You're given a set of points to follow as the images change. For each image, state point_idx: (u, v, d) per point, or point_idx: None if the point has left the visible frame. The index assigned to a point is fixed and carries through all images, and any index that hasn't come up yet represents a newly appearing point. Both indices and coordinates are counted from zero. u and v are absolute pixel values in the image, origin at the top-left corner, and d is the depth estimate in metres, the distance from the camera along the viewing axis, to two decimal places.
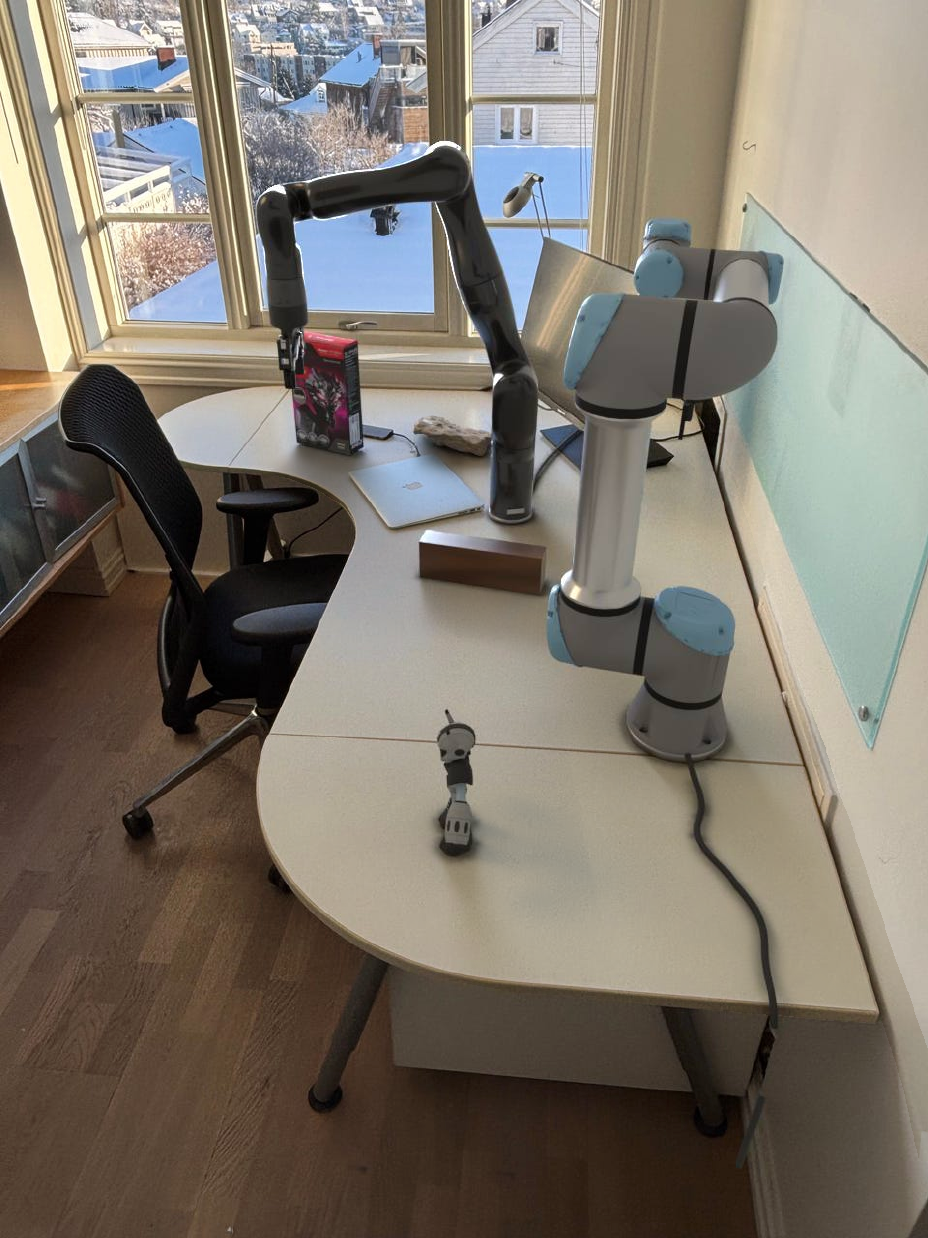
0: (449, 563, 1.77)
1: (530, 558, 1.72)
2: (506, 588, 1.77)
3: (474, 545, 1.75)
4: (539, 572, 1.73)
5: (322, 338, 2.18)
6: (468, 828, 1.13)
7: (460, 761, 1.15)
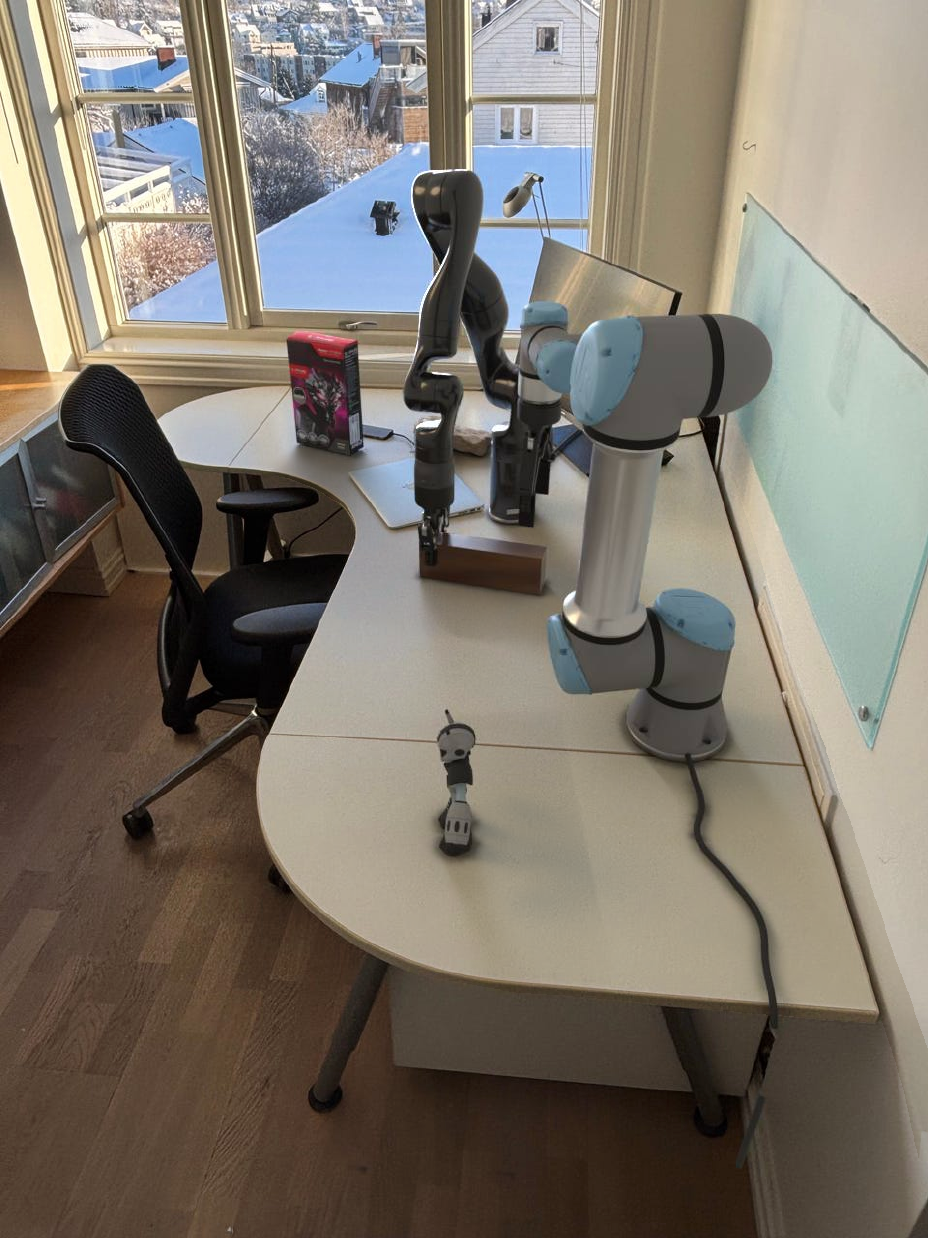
0: (449, 563, 1.77)
1: (530, 558, 1.72)
2: (506, 588, 1.77)
3: (474, 545, 1.75)
4: (539, 572, 1.73)
5: (322, 338, 2.18)
6: (468, 828, 1.13)
7: (460, 761, 1.15)
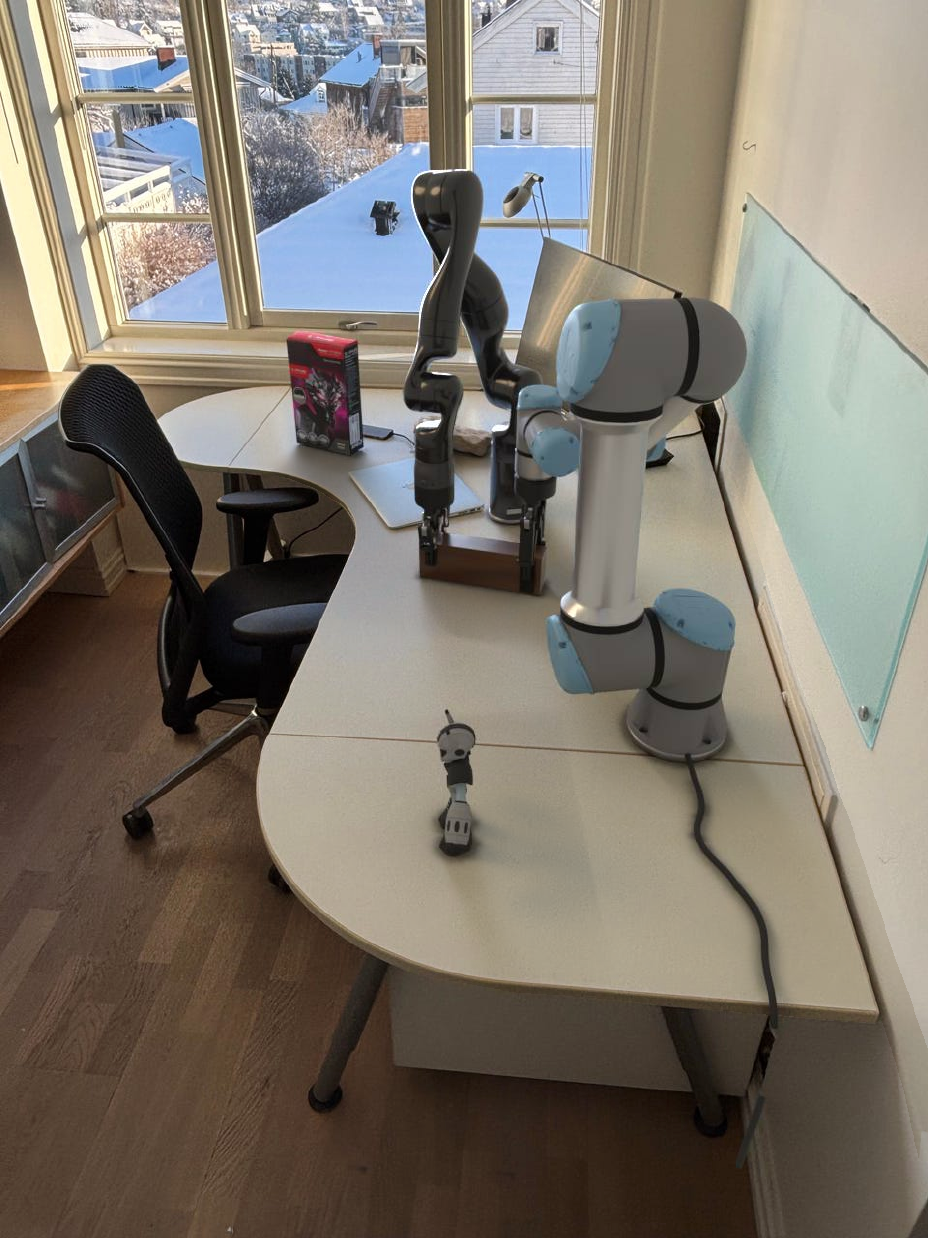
0: (449, 563, 1.77)
1: None
2: (506, 588, 1.77)
3: (474, 546, 1.75)
4: (539, 572, 1.73)
5: (322, 338, 2.18)
6: (468, 828, 1.13)
7: (460, 761, 1.15)
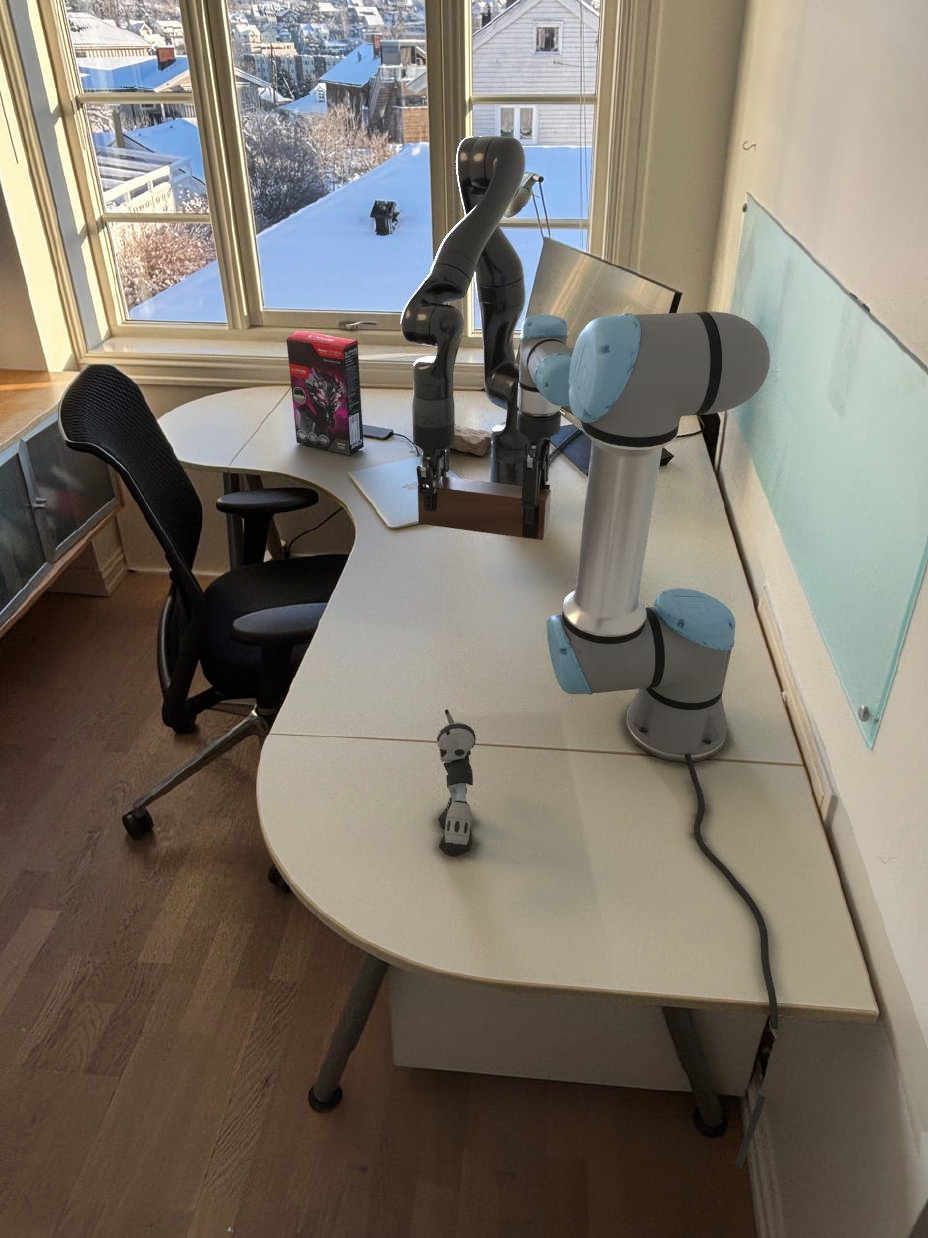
0: (449, 508, 1.70)
1: None
2: (508, 533, 1.70)
3: (475, 489, 1.68)
4: (543, 515, 1.66)
5: (322, 338, 2.18)
6: (468, 828, 1.13)
7: (460, 761, 1.15)
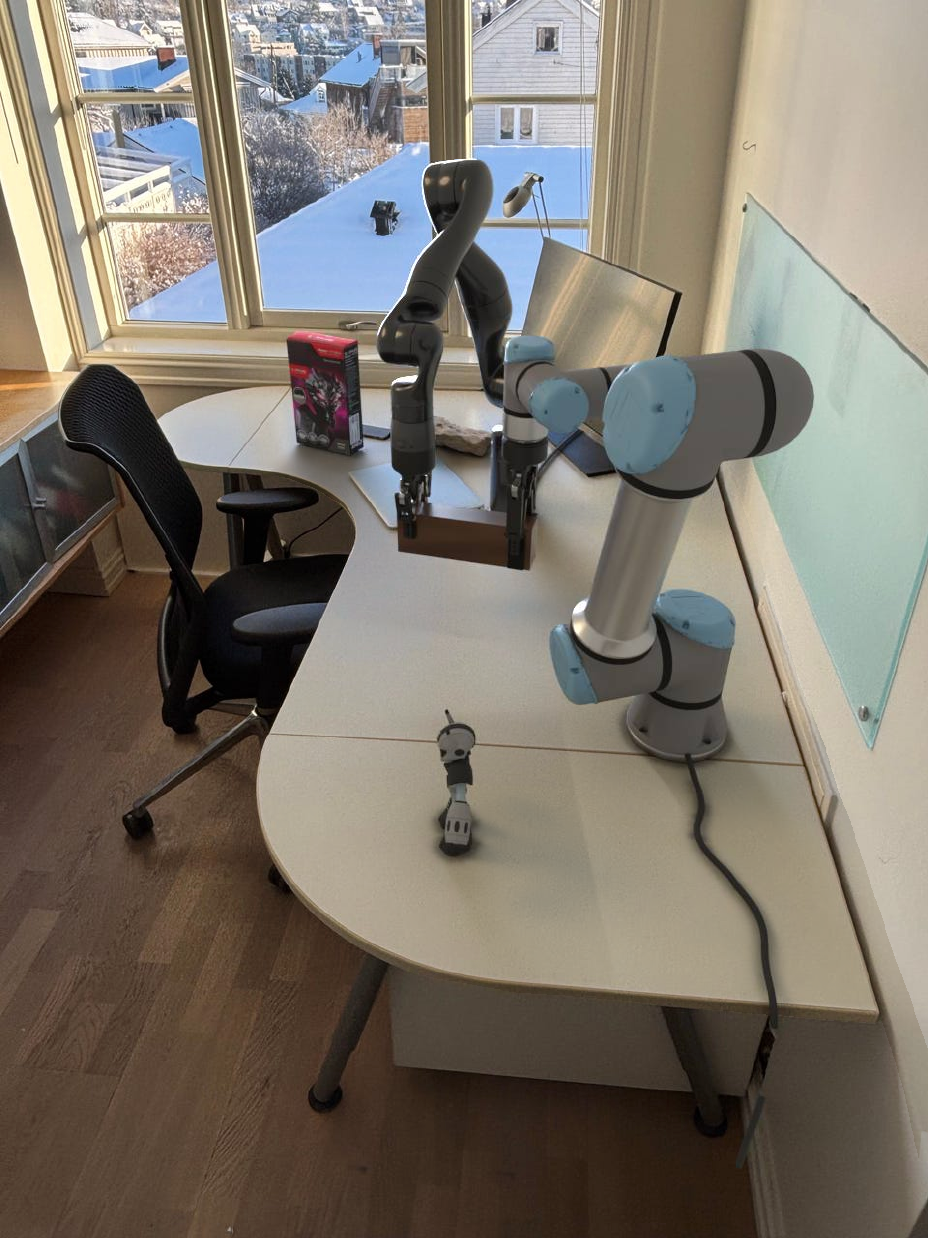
0: (430, 536, 1.61)
1: None
2: (492, 562, 1.60)
3: (457, 516, 1.59)
4: (529, 545, 1.56)
5: (322, 338, 2.18)
6: (468, 828, 1.13)
7: (460, 761, 1.15)
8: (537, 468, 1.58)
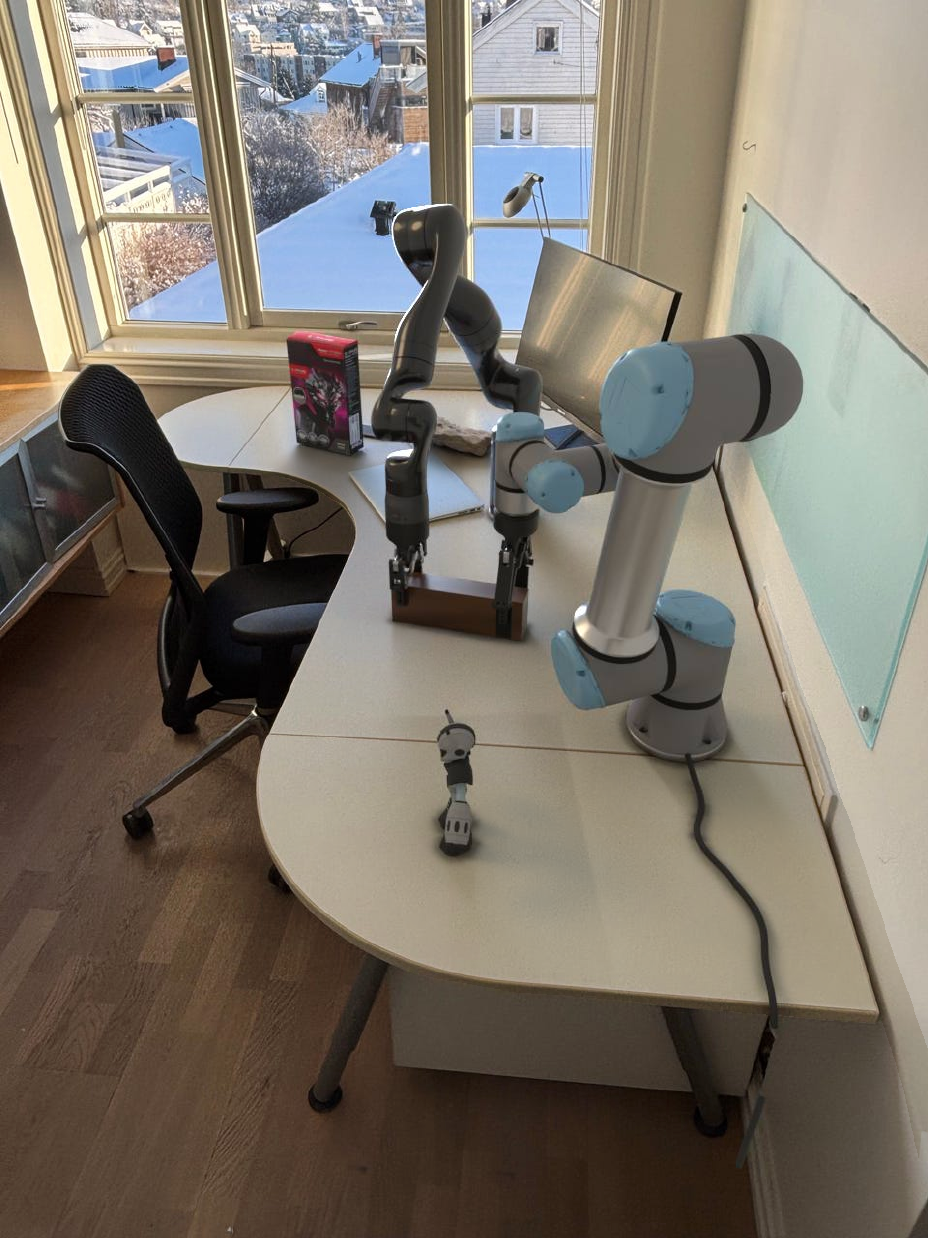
0: (424, 606, 1.64)
1: None
2: (485, 633, 1.64)
3: (450, 588, 1.62)
4: (520, 617, 1.60)
5: (322, 338, 2.18)
6: (468, 828, 1.13)
7: (460, 761, 1.15)
8: None
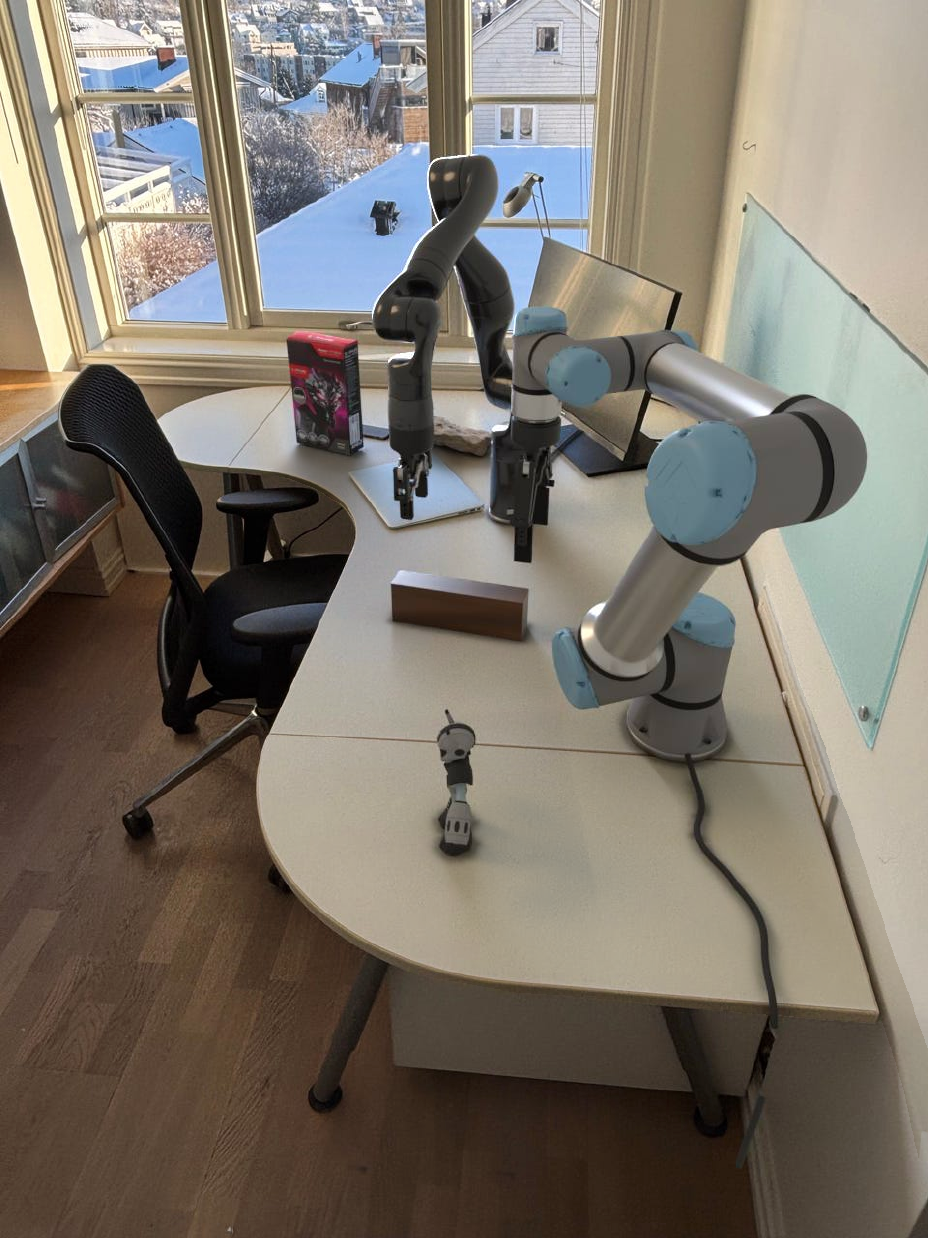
0: (424, 606, 1.64)
1: (510, 602, 1.59)
2: (485, 633, 1.64)
3: (450, 588, 1.62)
4: (520, 617, 1.60)
5: (322, 338, 2.18)
6: (468, 828, 1.13)
7: (460, 761, 1.15)
8: None
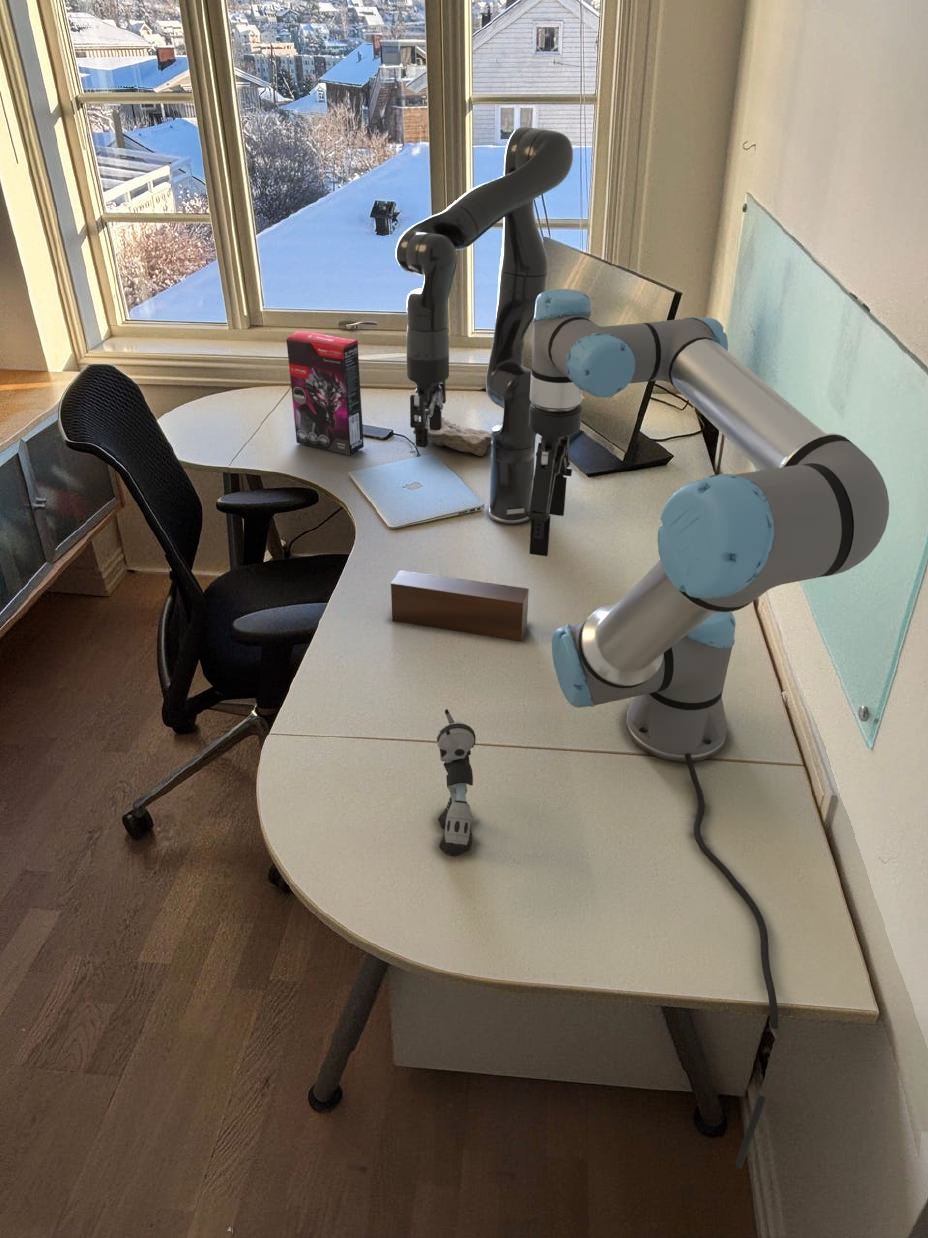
0: (424, 606, 1.64)
1: (510, 602, 1.59)
2: (485, 633, 1.64)
3: (450, 588, 1.62)
4: (520, 617, 1.60)
5: (322, 338, 2.18)
6: (468, 828, 1.13)
7: (460, 761, 1.15)
8: None
